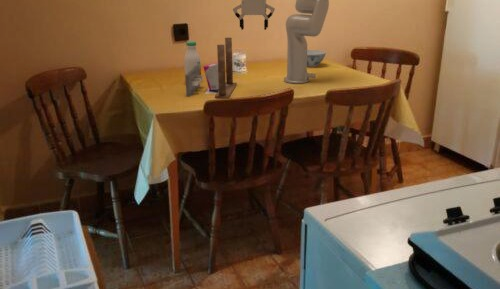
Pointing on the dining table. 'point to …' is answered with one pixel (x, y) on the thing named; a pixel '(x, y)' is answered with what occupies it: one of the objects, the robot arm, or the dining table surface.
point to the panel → (192, 80)
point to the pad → (210, 92)
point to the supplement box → (212, 76)
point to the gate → (224, 82)
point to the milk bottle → (191, 58)
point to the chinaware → (314, 57)
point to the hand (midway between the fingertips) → (253, 29)
